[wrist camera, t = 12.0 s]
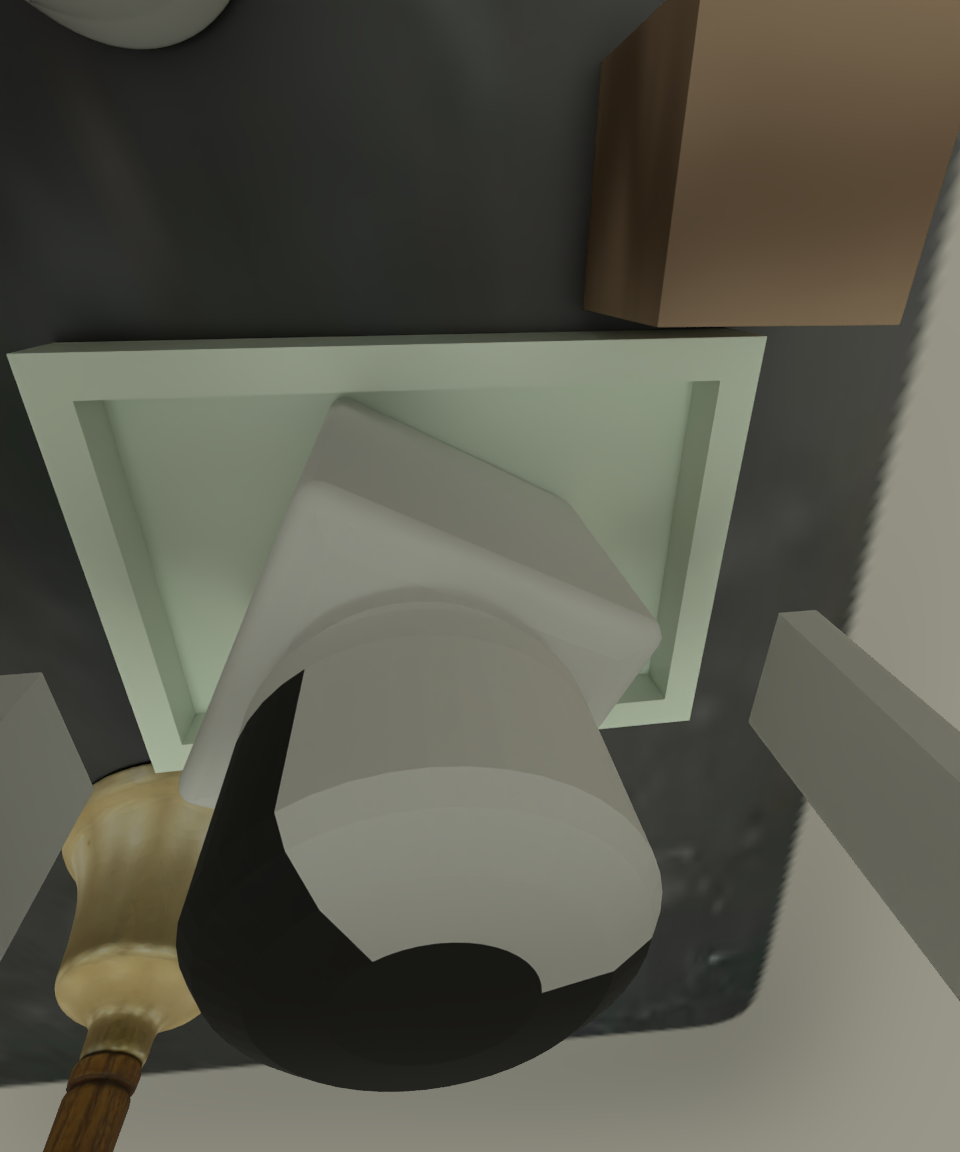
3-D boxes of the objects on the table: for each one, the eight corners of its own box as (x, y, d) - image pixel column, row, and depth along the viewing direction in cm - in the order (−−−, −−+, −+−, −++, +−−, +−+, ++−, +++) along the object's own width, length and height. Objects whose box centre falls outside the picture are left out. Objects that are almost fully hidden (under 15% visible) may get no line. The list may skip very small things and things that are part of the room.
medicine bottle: (462, 685, 20) (544, 1163, 9) (247, 613, 18) (32, 1138, 7) (572, 500, 17) (857, 872, 7) (337, 388, 15) (210, 685, 4)
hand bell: (267, 924, 25) (112, 1757, 11) (47, 893, 23) (-510, 1917, 9) (332, 788, 22) (230, 1700, 8) (86, 733, 20) (-683, 1922, 6)
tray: (53, 342, 14) (6, 353, 12) (726, 328, 16) (767, 336, 14) (176, 727, 20) (155, 773, 18) (665, 683, 22) (689, 720, 20)
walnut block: (600, 62, 13) (704, -36, 9) (808, 72, 14) (1003, -17, 9) (581, 309, 16) (657, 327, 11) (761, 308, 16) (899, 324, 12)
